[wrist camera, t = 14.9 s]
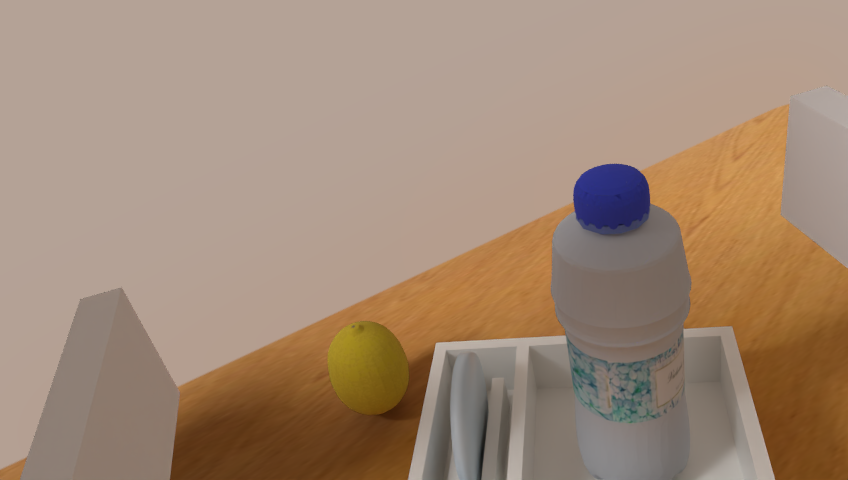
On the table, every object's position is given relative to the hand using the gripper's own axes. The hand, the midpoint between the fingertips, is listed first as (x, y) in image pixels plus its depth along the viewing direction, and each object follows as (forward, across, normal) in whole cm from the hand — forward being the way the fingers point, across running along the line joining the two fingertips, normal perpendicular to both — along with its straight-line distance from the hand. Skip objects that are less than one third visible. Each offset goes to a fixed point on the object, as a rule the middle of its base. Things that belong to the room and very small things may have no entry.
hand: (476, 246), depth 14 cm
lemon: (+27, -5, -31) cm, 41 cm away
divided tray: (+16, +6, -30) cm, 35 cm away
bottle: (+15, +9, -29) cm, 34 cm away
